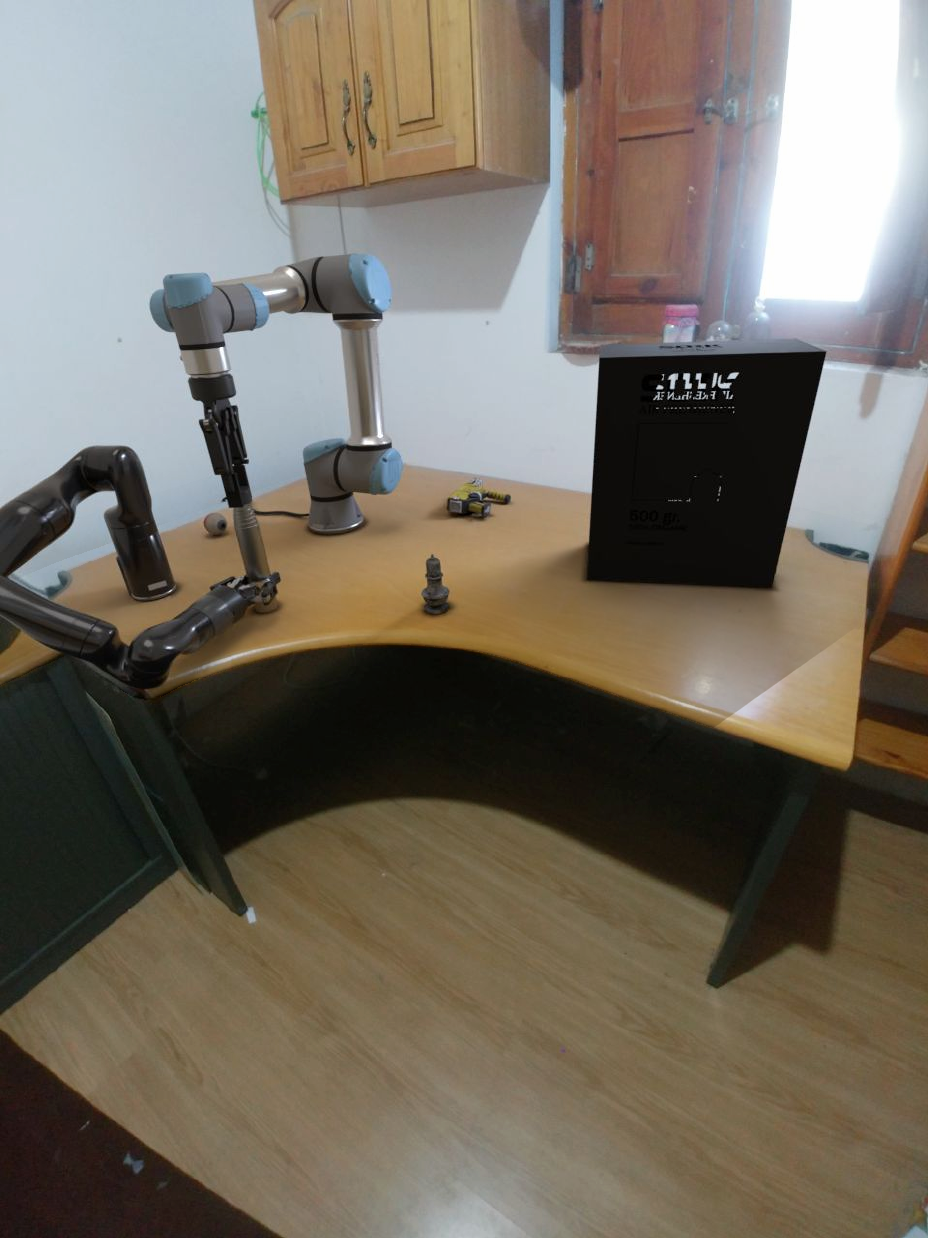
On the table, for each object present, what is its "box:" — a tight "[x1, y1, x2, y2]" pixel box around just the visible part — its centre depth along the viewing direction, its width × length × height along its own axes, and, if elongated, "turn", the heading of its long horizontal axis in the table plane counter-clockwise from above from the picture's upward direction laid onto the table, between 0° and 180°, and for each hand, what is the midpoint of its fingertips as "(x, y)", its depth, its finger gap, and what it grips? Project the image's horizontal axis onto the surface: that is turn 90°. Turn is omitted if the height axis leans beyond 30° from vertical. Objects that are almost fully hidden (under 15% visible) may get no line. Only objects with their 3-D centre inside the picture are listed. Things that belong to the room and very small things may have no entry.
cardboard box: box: [586, 338, 828, 589], centre depth 126 cm, size 38×20×45 cm, turn 78°
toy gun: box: [446, 477, 512, 518], centre depth 177 cm, size 5×24×15 cm
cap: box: [240, 486, 253, 505], centre depth 116 cm, size 4×4×3 cm
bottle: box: [232, 503, 279, 614], centre depth 122 cm, size 5×5×25 cm
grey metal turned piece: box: [420, 553, 451, 614], centre depth 122 cm, size 6×6×12 cm
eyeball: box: [203, 512, 228, 536], centre depth 166 cm, size 6×6×6 cm
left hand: (267, 574), depth 128 cm, fingers closed on bottle, 4 cm apart
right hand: (240, 502), depth 117 cm, fingers closed on cap, 4 cm apart
